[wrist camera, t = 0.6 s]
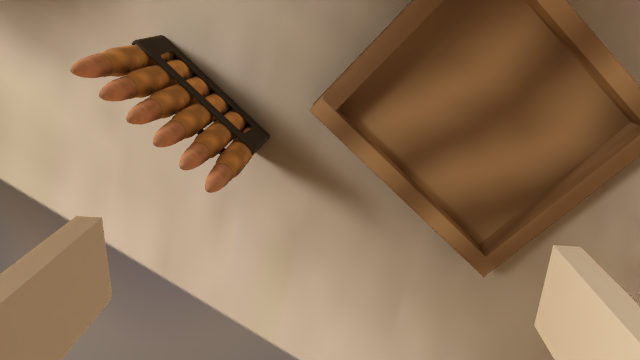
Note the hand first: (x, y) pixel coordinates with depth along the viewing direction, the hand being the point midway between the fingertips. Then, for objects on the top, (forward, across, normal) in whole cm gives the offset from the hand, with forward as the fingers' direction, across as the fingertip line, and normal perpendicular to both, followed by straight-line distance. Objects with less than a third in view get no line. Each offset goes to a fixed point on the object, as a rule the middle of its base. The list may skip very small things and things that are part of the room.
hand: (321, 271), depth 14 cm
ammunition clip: (+23, -10, +1) cm, 25 cm away
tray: (+22, +10, +1) cm, 25 cm away
